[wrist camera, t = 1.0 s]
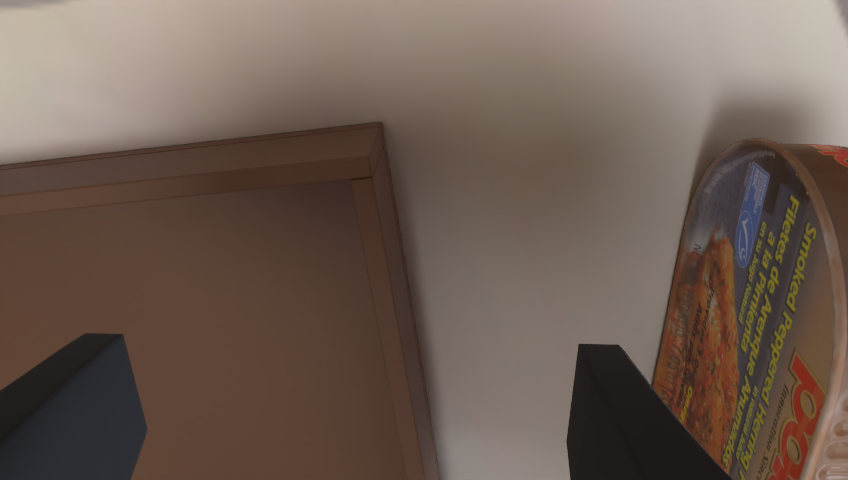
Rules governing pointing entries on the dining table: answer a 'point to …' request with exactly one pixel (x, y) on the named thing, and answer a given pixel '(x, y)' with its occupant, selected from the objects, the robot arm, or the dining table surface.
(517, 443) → the dining table surface
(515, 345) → the dining table surface
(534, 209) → the dining table surface
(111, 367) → the robot arm
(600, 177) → the dining table surface
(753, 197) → the tin
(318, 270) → the tray
